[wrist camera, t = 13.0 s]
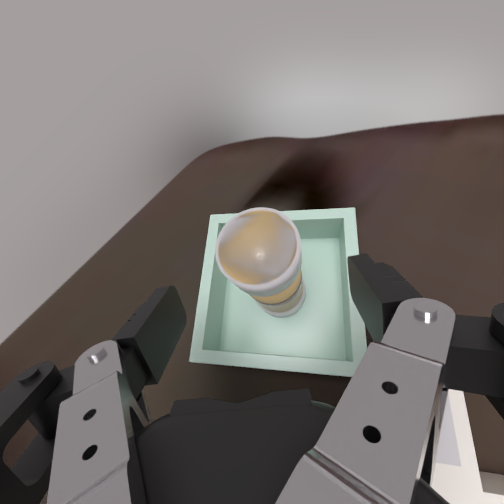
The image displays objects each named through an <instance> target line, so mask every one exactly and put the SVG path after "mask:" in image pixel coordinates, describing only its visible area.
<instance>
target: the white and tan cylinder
mask: <svg viewBox="0 0 504 504" xmlns="http://www.w3.org/2000/svg"><path fill="white" fill-rule="evenodd" d="M215 257H216V261H217V264H218V267H219V268H220V270H221V272H222V273H223V274H224V276H225V277H226V278H227V279H229V280H230V281H231V282H232V283H233V284H234V285H235V286H237V287H238V288H239V289H240V290H242V291H243V292H245V293H247V294H249V295H250V296H251V297H252V298H253V299H255V301H256V302H257V304H258V305H259V306H260V307H261V308H262V309H263V310H264V311H265V312H266V313H268V314H269V315H271V316H273V317H277V318H286V317H290V316H292V315H294V314H296V313H297V312H298V311H299V310H300V309H301V308H302V306H303V304H304V302H305V298H306V289H305V282H304V279H303V277H302V272H301V265H302V250H301V241H300V235H299V232H298V230H297V228H296V226H295V224H294V223H293V222H292V220H291V219H290V218H289V217H287V216H286V215H285V214H283V213H281V212H280V211H277V210H275V209H271V208H252V209H248V210H245V211H243V212H241V213H239V214H237V215H235V216H234V217H233V218H231V219H230V220H229V221H228V222H227V223H226V224H225V225H224V227H223V228H222V230H221V231H220V233H219V235H218V238H217V241H216V246H215Z"/></svg>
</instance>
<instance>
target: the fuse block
mask: <svg viewBox="0 0 504 504" xmlns="http://www.w3.org/2000/svg"><path fill="white" fill-rule="evenodd" d="M432 488H433V489H434V490H435V491H436V492H437V493H438V494H439V495H441V496H442V497H443V498H444V499H445V500H446V501H447V502H448V503H450V504H504V475H501V474H495V473H488V472H482V471H479V469H478V464H477V459H476V454H475V449H474V444H473V439H472V434H471V429H470V424H469V419H468V414H467V409H466V404H465V399H464V394H463V391H458V390H452V389H449V390H448V395H447V401H446V406H445V411H444V416H443V422H442V427H441V432H440V437H439V443H438V449H437V457H436V464H435V470H434V476H433V482H432Z"/></svg>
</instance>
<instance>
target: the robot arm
mask: <svg viewBox="0 0 504 504" xmlns="http://www.w3.org/2000/svg"><path fill="white" fill-rule="evenodd" d="M347 263H348V274H349V285H350V292H351V297H352V300H353V302H354V304H355V306H356V308H357V310H358V312H359V314H360V316H361V318H362V319H363V321H364V323H365V325H366V327H367V329H368V331H369V333H370V335H371V337H372V339H373V341H372V342H371V343H370V345H369V346H368V348H367V350H366V352H365V354H364V356H363V358H362V360H361V361H360V363H359V365H358V367H357V369H356V371H355V373H354V375H353V376H352V378H351V380H350V382H349V384H348V386H347V388H346V390H345V391H344V393H343V395H342V397H341V399H340V401H339V403H338V405H337V406H336V407H333V406H331V405H329V404H326V403H322V402H319V401H313V400H311V395H310V390H309V388H305V389H294V390H284V391H274V392H271V393H268V394H265V395H262V396H259V397H256V398H253V399H250V400H247V401H244V402H241V403H232V402H226V401H221V400H215V399H209V398H199V399H188V400H178V401H174V404H173V407H172V409H171V412H170V414H167V415H165V416H163V417H161V418H159V419H157V420H155V421H154V422H152V419H151V416H150V412H149V408H148V405H147V401H146V397H145V395H144V393H143V391H142V389H143V387H144V385H153V384H158V382H159V380H160V378H161V376H162V374H163V372H164V369H165V367H166V365H167V363H168V361H169V359H170V357H171V355H172V353H173V351H174V348H175V346H176V344H177V342H178V340H179V338H180V336H181V334H182V332H183V330H184V327H185V325H186V313H185V310H184V307H183V305H182V302H181V300H180V297H179V294H178V292H177V289H176V288H175V287H174V286H167V287H161V288H157V289H156V290H155V291H154V292H153V294H152V295H151V296H150V297H149V299H148V300H147V301H146V302H144V303H143V304H142V305H140V306H139V307H138V308H137V310H136V311H135V312H134V313H133V316H131V317H130V318H129V319H128V322H126V323H125V324H124V325H123V327H122V328H121V329H120V330H119V332H118V333H117V334H116V335H115V336H114V338H113V339H112V340H110V341H104V342H101V343H99V344H96V345H95V346H93V347H91V348H89V349H88V350H87V351H85V352H84V353H83V354H82V355H81V356H80V357H79V358H78V360H77V361H76V363H75V365H74V366H71V367H68V368H66V369H63V370H60V371H59V370H58V369H57V367H56V366H55V364H54V363H53V362H51V361H46V362H42V363H39V364H37V365H34V366H32V367H30V368H29V369H27V370H25V371H24V372H22V373H21V374H19V375H18V376H17V377H16V378H15V379H13V380H12V381H11V382H10V383H9V384H8V385H7V386H6V387H5V388H4V389H3V390H2V391H1V392H0V504H39V503H40V502H41V500H42V498H43V497H44V495H45V493H46V492H47V490H48V489H49V491H48V498H47V504H450V503H448V502H447V501H446V500H445V499H444V498H443V497H442V496H441V495H439V494H438V493H437V492H436V491H435V490H434V489H433V488H432V482H433V476H434V470H435V464H436V457H437V449H438V443H439V437H440V432H441V427H442V422H443V416H444V411H445V406H446V401H447V395H448V390H449V389H452V390H458V391H464V392H470V393H475V394H481V395H485V396H486V397H487V399H488V400H489V401H490V402H491V404H492V405H493V406H494V408H495V409H496V410H497V411H498V413H499V414H500V415H501V417H502V418H503V419H504V303H501V304H498V305H496V306H495V307H494V308H493V309H492V315H491V317H476V316H462V315H456V314H455V313H454V311H453V310H452V309H451V308H450V307H449V306H447V305H446V304H444V303H442V302H439V301H436V300H432V299H427V298H423V297H422V296H421V295H420V294H419V293H418V292H417V291H416V290H415V289H414V288H413V287H412V286H411V285H410V284H409V283H408V282H407V281H405V279H404V278H403V277H402V276H401V275H400V274H399V273H398V272H397V271H396V270H395V269H394V268H393V267H392V266H389V265H387V264H385V263H382V262H381V263H375V262H374V261H373V260H372V259H371V258H370V257H369V256H368V254H366V253H365V254H360V255H354V256H348V258H347ZM27 419H28V420H29V421H30V422H31V424H32V425H33V426H34V427H35V428H36V430H37V431H38V432H39V433H38V434H37V436H36V437H35V438H34V440H33V441H32V442H31V444H30V445H29V446H28V448H27V449H26V450H25V451H24V453H23V454H22V455H21V457H20V458H19V459H18V461H17V462H16V463H15V465H14V466H13V467H12V469H11V470H10V469H9V468H8V467H7V466H6V465H5V464H4V462H3V459H2V455H3V451H4V448H5V446H6V445H7V443H8V442H9V440H10V439H11V438H12V437H13V436H14V435H15V433H16V432H17V431H18V430H19V429H20V427H21V426H22V425H23V424H24V423H25V421H26V420H27Z"/></svg>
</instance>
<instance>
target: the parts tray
mask: <svg viewBox="0 0 504 504" xmlns="http://www.w3.org/2000/svg"><path fill="white" fill-rule="evenodd" d="M280 212H281V213H283V214H285V215H286V216H287V217H289V218H290V219H291V220H292V222H293V223H294V224H295V226H296V228H297V230H298V232H299V235H300V241H301V250H302V265H301V272H302V277H303V279H304V282H305V289H306V298H305V302H304V304H303V306H302V308H301V309H300V310H299V311H298V312H297V313H296V314H294V315H292V316H290V317H286V318H277V317H273V316H271V315H269V314H268V313H266V312H265V311H264V310H263V309H262V308H261V307H260V306H259V305H258V304H257V302H256V301H255V299H253V298H252V297H251V296H250V295H249V294H247V293H245V292H243V291H242V290H240V289H239V288H238V287H237V286H235V285H234V284H233V283H232V282H231V281H230V280H229V279H227V278H226V277H225V276H224V274H223V273H222V272H221V270H220V268H219V267H218V264H217V261H216V257H215V246H216V241H217V238H218V235H219V233H220V231H221V230H222V228H223V227H224V225H225V224H226V223H227V222H228V221H229V220H230V219H231V218H233V217H234V216H235V215H237V214H239V213H237V214H217V215H211V216H210V222H209V229H208V236H207V243H206V250H205V257H204V263H203V270H202V277H201V284H200V291H199V297H198V304H197V311H196V318H195V325H194V332H193V338H192V345H191V352H190V359H189V362H197V363H207V364H218V365H229V366H240V367H250V368H261V369H272V370H282V371H293V372H304V373H315V374H325V375H336V376H347V377H352V376H353V375H354V373H355V371H356V369H357V367H358V365H359V363H360V361H361V360H362V358H363V356H364V354H365V352H366V350H367V344H366V332H365V323H364V321H363V319H362V318H361V316H360V314H359V312H358V310H357V308H356V306H355V304H354V302H353V300H352V297H351V292H350V285H349V274H348V263H347V258H348V256H354V255H359V250H358V239H357V227H356V215H355V208H338V209H318V210H298V211H280Z"/></svg>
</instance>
